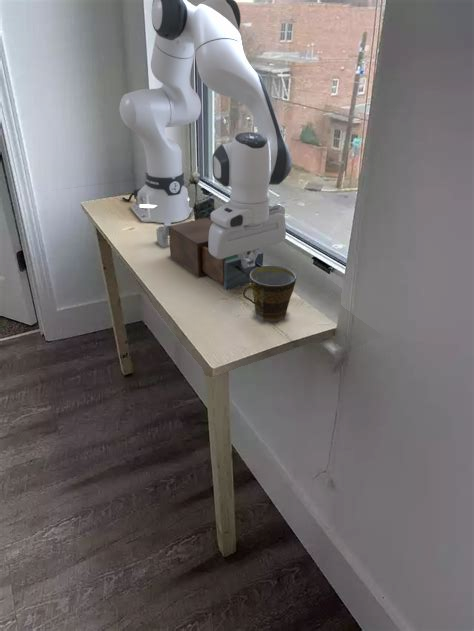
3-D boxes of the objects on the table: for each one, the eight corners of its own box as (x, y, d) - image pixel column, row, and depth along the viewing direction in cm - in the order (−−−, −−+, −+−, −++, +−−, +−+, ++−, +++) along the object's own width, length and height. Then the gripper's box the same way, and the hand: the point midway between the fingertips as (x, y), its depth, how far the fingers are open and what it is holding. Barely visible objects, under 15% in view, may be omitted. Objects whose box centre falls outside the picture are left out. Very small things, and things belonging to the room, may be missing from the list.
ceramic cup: (273, 300, 120) (275, 261, 115) (302, 318, 113) (306, 277, 108) (228, 316, 113) (229, 276, 108) (256, 336, 106) (258, 294, 101)
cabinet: (236, 265, 136) (237, 233, 132) (198, 276, 130) (197, 243, 126) (207, 247, 146) (206, 217, 142) (170, 257, 140) (168, 226, 136)
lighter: (156, 242, 149) (155, 216, 145) (162, 241, 150) (160, 215, 146) (167, 251, 144) (166, 224, 140) (173, 249, 145) (171, 223, 141)
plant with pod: (221, 237, 153) (221, 170, 143) (185, 242, 150) (182, 174, 140) (212, 228, 160) (212, 163, 150) (177, 232, 156) (175, 166, 146)
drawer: (276, 288, 123) (278, 260, 120) (240, 300, 118) (241, 271, 114) (231, 260, 137) (231, 235, 133) (196, 270, 131) (196, 244, 127)
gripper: (276, 198, 122) (273, 252, 129) (204, 214, 111) (205, 271, 118) (293, 206, 117) (289, 260, 124) (220, 223, 107) (220, 282, 114)
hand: (247, 266), depth 121 cm, fingers closed
